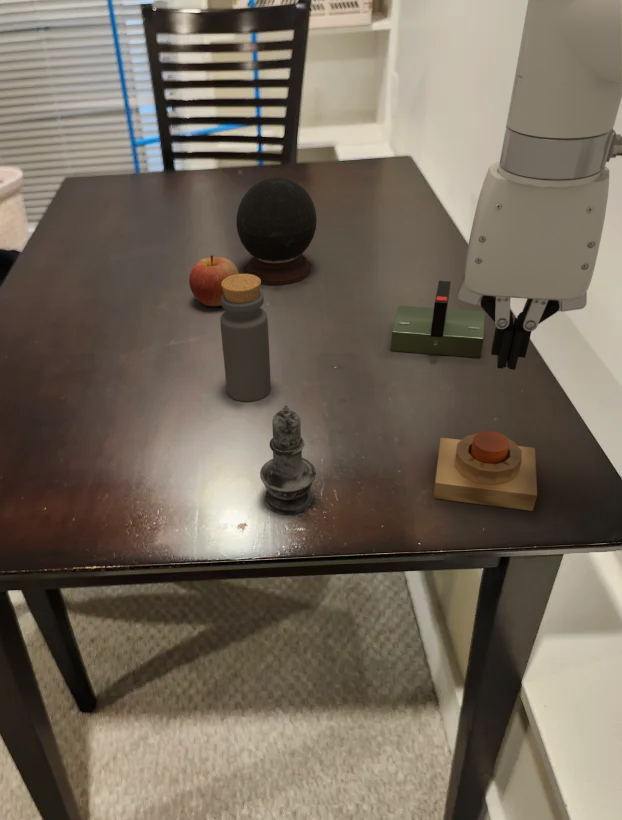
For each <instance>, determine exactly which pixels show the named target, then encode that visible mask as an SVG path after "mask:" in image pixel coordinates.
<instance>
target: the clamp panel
mask: <svg viewBox="0 0 622 820" xmlns="http://www.w3.org/2000/svg"><path fill="white" fill-rule="evenodd" d="M433 312H434V307H430V306H428V307H427V306H411V305H398V307H397V311H396V314H395V317H394V322H393V326H392V327H393V328H392V330H391V341H390V352H398V353H413V354H425V355H437V356H450V357H462V358H473V359H475V358H476V359H480V358H481V354H482V348H483V343H484V338H485V337H484V336H485V334H484V332H485V317H486V316H485V313H486V312H485V310H474V309H460V308H459V309H457V308H447V314H446V320H445V326H444V332H443V337H431V336H430V335H431V328H432V320H433Z"/></svg>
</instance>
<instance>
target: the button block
mask: <svg viewBox="0 0 622 820" xmlns="http://www.w3.org/2000/svg"><path fill="white" fill-rule="evenodd" d="M478 433H479V432H477V433H473V434H467V435H466V436H464V437H463V438H462V439H459V438H458V439H457V438H449V437H440V438H439V445H438V450H437V459H436V467H435V476H434V485H433V491H432V492H433V494H432V499H435V500H443V501H451V502H460V503H468V504H475V505H483V506H490V507H499V508H504V509H505V508H506V509H512V510H513V509H514V510H521V511H530V512H533V511H534V507H535V505H536V501H537V499H538V498H537V497H538V484H537V481H538V480H537V464H536V463H537V462H536V447H531V446H522V445H517V443H515V441H514V440H512V439H510V438H508V440H509V443H510V444H509V449H508V453H507V457H506V459H505V461H504V462H502V463H498V464H488V463H482V462H480V461H478V460H476V459H474V458H473V457H472V455H471V448H472V443H473V438H474V436H475V435H476V434H478Z"/></svg>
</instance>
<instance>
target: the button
mask: <svg viewBox="0 0 622 820" xmlns="http://www.w3.org/2000/svg"><path fill="white" fill-rule="evenodd" d="M477 433H478V434H477ZM477 433H475V434H476V435H475V436H474V438H473V443H472V448H471V455H472V457H473V458H474V459H476V460H478V461H480V462H482V463H488V464H498V463H502V462H504V461H505V459H506V457H507V453H508V449H509V444H510V443H509V440H508V439H509V438H508V437H507V436H506V435H505V434H502V433H500V432H497V431H495V430H494V431H492V430H485V431H483V430H482V431H480V432H477Z"/></svg>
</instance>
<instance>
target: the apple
mask: <svg viewBox="0 0 622 820" xmlns="http://www.w3.org/2000/svg"><path fill="white" fill-rule="evenodd" d="M239 272H240V271H239V270H238V267H237V266H236V264H235V263H234V262H233V261H232V260H230V259H229V258H226V257H223V256H214V255H213V254H210V255H209V256H207V257H203V258H200V259H199V260H198V261H196V262H195V264H194V265H193V267H192V269H191V271H190V274H189V278H188V283H189V289H190V291H191V292H192V294H193V296H194V297H195V298H196V299H197V300H198V301H199V303H201V304H203V306H207V307H222V303H221V297H222V295H223V294H224V292H223V289H222V286H221V283H222V281H223V280H224V279H225V278H227V277H229V276H231V275H236V274H240V273H239Z"/></svg>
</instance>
